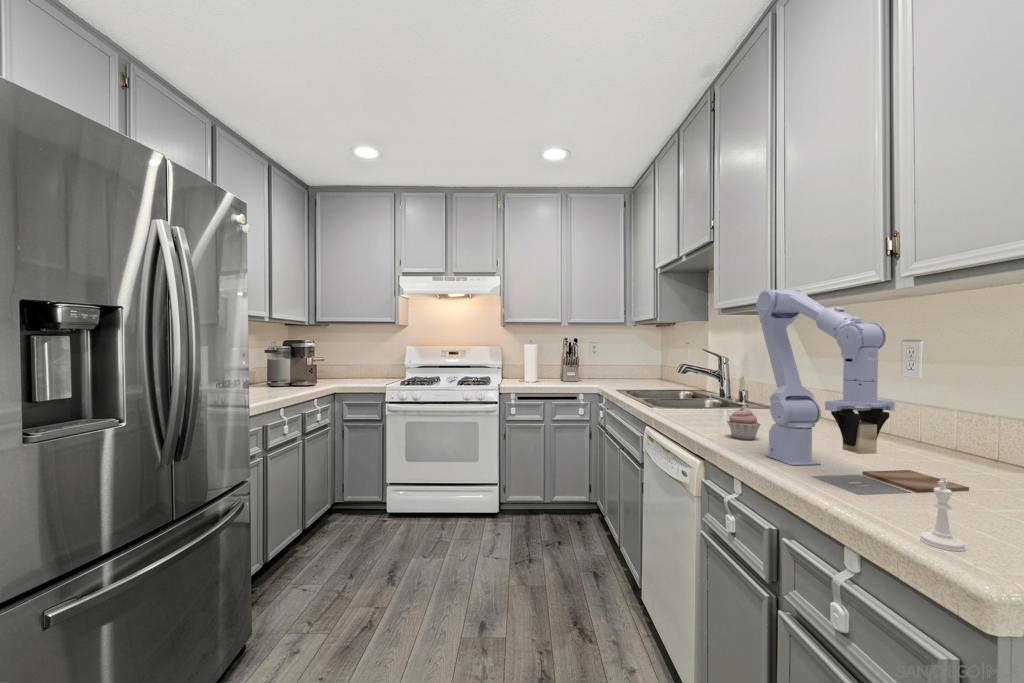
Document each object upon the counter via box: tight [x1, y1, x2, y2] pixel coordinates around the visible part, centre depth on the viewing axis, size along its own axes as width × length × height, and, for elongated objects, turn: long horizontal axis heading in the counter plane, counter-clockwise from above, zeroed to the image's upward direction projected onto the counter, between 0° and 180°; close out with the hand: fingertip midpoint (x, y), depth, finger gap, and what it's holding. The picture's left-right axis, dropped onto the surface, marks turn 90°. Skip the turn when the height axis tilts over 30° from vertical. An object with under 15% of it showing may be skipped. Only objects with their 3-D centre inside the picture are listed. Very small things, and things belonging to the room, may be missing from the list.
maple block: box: [842, 421, 878, 455], centre depth 94 cm, size 4×4×6 cm
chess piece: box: [919, 475, 967, 552], centre depth 67 cm, size 5×5×10 cm
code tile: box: [810, 474, 912, 496], centre depth 94 cm, size 12×12×1 cm
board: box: [862, 469, 970, 494], centre depth 96 cm, size 12×12×1 cm
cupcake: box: [726, 405, 761, 441], centre depth 138 cm, size 9×9×10 cm
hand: (859, 444), depth 94 cm, fingers closed on maple block, 4 cm apart
